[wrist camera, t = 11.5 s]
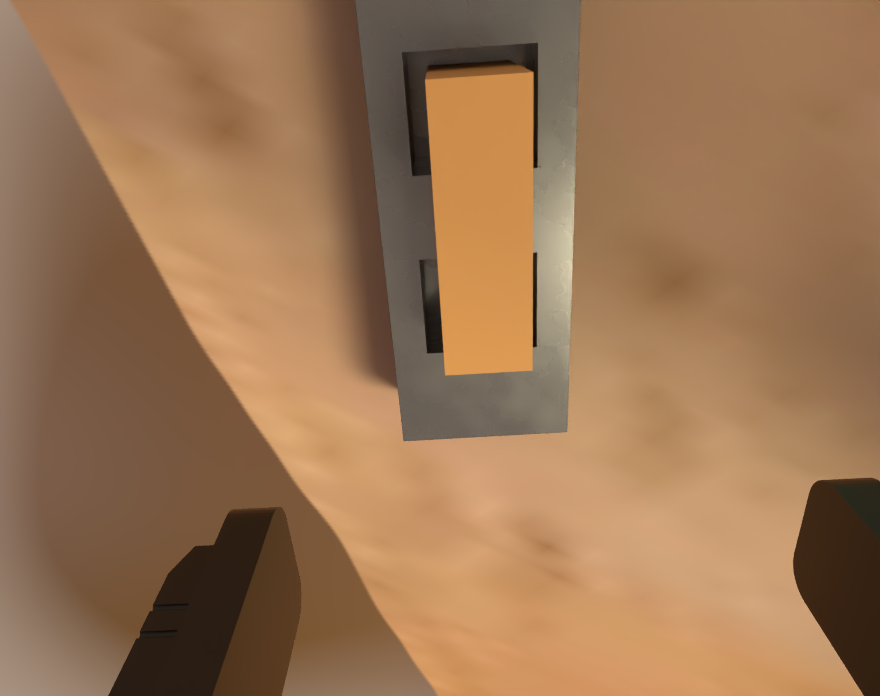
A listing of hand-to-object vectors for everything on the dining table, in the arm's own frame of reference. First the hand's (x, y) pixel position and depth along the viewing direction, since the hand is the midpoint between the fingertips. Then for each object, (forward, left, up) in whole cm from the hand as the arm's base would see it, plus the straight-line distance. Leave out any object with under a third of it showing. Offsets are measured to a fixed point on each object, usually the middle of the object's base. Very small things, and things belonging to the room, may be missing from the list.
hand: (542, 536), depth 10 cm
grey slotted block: (0, 0, -23) cm, 23 cm away
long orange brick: (0, 0, -22) cm, 22 cm away
